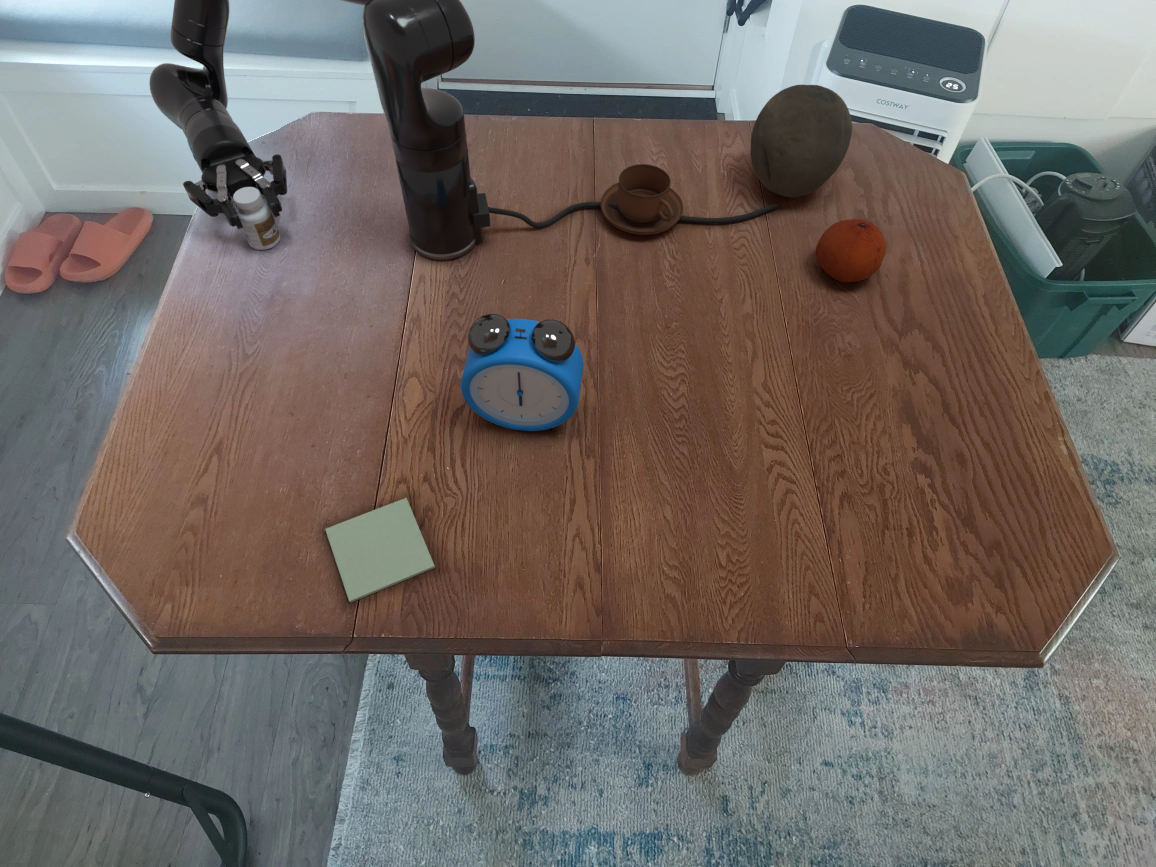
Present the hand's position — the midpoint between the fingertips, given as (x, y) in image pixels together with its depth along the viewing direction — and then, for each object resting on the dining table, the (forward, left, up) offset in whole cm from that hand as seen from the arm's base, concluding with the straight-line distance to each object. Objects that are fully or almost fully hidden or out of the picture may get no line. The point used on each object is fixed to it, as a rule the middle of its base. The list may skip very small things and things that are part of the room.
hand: (257, 216), depth 100 cm
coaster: (0, +50, -6) cm, 51 cm away
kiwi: (-75, +17, -6) cm, 77 cm away
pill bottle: (0, -3, -6) cm, 7 cm away
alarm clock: (-21, +40, -6) cm, 46 cm away
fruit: (-71, +36, -6) cm, 80 cm away
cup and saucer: (-51, +14, -6) cm, 53 cm away
